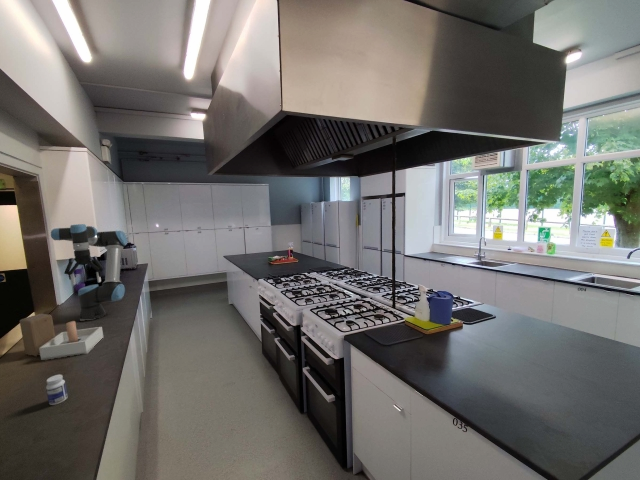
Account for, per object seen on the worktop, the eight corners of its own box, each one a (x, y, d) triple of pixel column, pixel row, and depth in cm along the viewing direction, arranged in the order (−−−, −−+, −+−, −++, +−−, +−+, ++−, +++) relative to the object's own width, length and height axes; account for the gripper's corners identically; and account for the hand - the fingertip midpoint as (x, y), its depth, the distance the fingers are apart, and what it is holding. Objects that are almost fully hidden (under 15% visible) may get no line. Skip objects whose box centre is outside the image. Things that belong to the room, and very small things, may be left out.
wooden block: (58, 348, 162) (52, 314, 160) (36, 357, 153) (29, 321, 150) (47, 346, 166) (41, 312, 163) (24, 355, 156) (18, 319, 154)
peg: (72, 345, 162) (68, 321, 160) (80, 344, 163) (76, 320, 161) (68, 348, 158) (64, 324, 157) (76, 347, 159) (72, 323, 158)
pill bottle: (56, 396, 119) (52, 374, 118) (71, 395, 119) (67, 372, 118) (44, 406, 113) (40, 382, 112) (60, 404, 114) (56, 381, 112)
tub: (63, 343, 168) (61, 332, 167) (103, 337, 173) (101, 326, 172) (41, 361, 149) (39, 348, 148) (86, 353, 154) (85, 341, 153)
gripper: (53, 252, 169) (59, 287, 172) (102, 248, 176) (107, 282, 179) (60, 250, 176) (66, 284, 179) (107, 247, 183) (112, 279, 186)
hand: (86, 283), depth 179 cm, fingers open, 13 cm apart
